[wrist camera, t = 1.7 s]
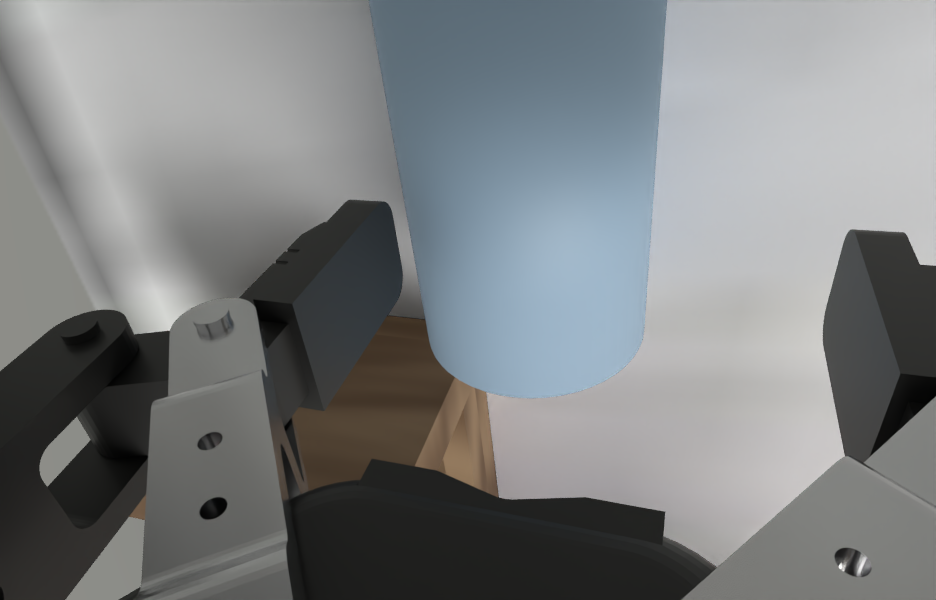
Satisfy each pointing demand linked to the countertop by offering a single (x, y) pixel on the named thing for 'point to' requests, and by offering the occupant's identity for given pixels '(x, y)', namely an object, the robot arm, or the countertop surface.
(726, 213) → the countertop surface
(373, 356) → the cradle
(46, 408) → the robot arm
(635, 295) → the cylinder
